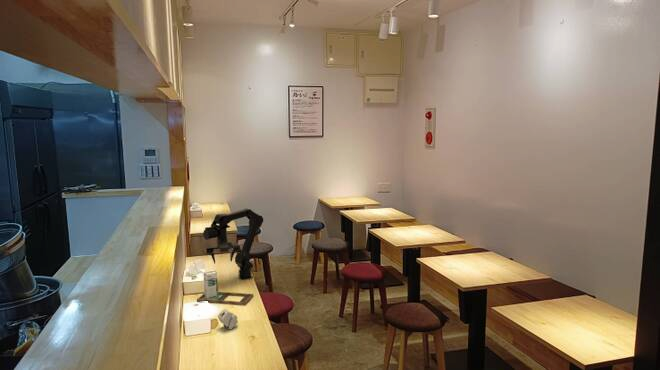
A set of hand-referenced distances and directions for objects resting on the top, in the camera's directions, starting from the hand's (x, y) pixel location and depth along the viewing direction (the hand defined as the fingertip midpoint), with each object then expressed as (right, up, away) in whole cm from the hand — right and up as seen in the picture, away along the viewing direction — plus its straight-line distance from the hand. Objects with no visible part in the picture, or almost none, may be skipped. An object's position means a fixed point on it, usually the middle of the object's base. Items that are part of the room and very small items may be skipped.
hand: (222, 262), depth 253 cm
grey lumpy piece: (+15, -21, -52) cm, 58 cm away
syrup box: (-2, -16, -18) cm, 24 cm away
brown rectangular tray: (+6, -16, -20) cm, 26 cm away
